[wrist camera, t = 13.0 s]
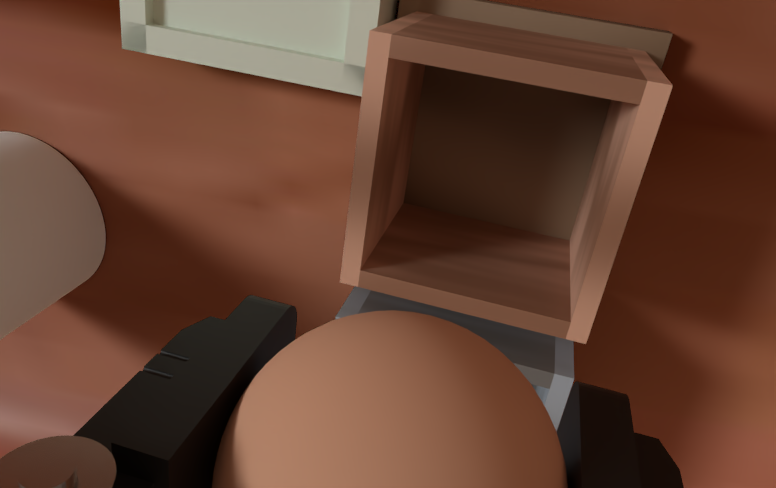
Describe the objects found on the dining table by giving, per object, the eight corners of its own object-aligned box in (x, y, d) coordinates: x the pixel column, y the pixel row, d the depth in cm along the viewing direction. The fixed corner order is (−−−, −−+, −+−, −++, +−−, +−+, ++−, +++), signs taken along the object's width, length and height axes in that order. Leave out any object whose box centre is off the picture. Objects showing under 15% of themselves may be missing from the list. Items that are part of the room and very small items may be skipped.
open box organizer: (406, -14, 22) (348, 0, 16) (669, 31, 21) (710, 63, 15) (350, 386, 30) (298, 493, 24) (537, 438, 29) (530, 565, 23)
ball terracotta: (303, 224, 10) (121, 414, 6) (604, 296, 9) (637, 573, 5) (284, 445, 12) (140, 700, 8) (529, 519, 11) (509, 843, 7)
